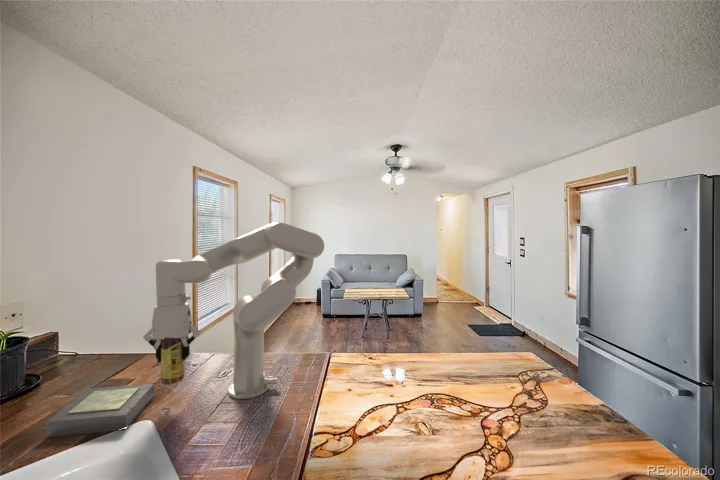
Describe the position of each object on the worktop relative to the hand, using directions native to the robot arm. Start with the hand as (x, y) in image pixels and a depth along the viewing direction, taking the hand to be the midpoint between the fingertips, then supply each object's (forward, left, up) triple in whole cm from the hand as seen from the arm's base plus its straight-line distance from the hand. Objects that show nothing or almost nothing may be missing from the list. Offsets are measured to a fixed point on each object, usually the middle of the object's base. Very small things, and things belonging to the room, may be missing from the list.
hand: (173, 358), depth 98 cm
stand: (+17, +2, -14) cm, 22 cm away
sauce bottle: (0, 0, -7) cm, 7 cm away
